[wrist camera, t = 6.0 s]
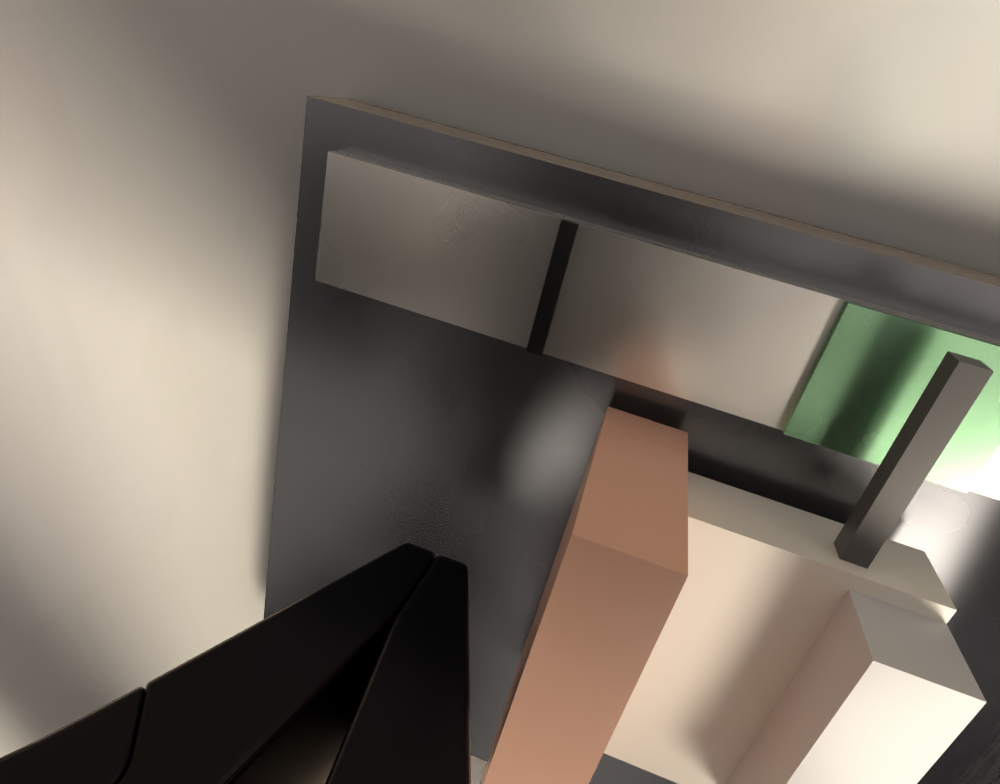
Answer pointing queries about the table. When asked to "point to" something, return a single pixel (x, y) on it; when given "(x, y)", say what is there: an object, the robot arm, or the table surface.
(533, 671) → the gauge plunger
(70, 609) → the table surface
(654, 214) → the frame
